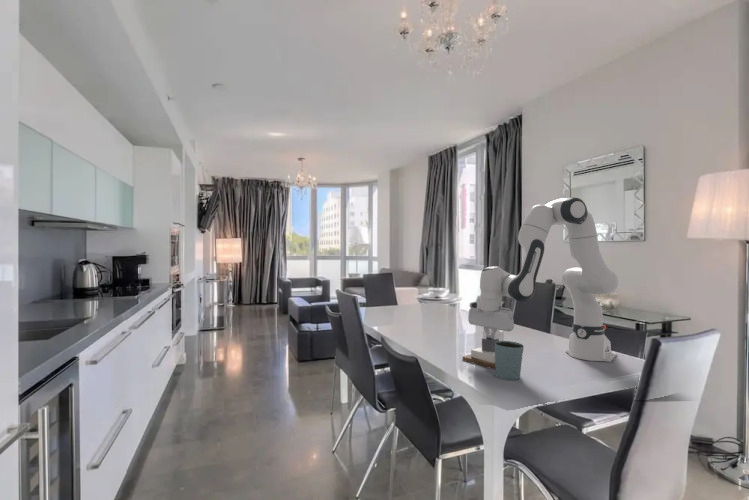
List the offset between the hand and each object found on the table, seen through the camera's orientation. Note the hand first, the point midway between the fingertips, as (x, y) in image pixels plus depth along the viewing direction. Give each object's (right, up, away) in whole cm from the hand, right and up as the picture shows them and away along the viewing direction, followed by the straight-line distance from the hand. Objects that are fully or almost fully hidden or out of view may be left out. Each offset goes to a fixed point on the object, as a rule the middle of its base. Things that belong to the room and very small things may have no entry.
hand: (490, 338), depth 165 cm
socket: (0, -8, 0) cm, 8 cm away
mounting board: (0, -10, 0) cm, 10 cm away
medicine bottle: (+9, -10, +27) cm, 30 cm away
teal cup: (+1, -10, -19) cm, 22 cm away
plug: (0, -7, 0) cm, 7 cm away
